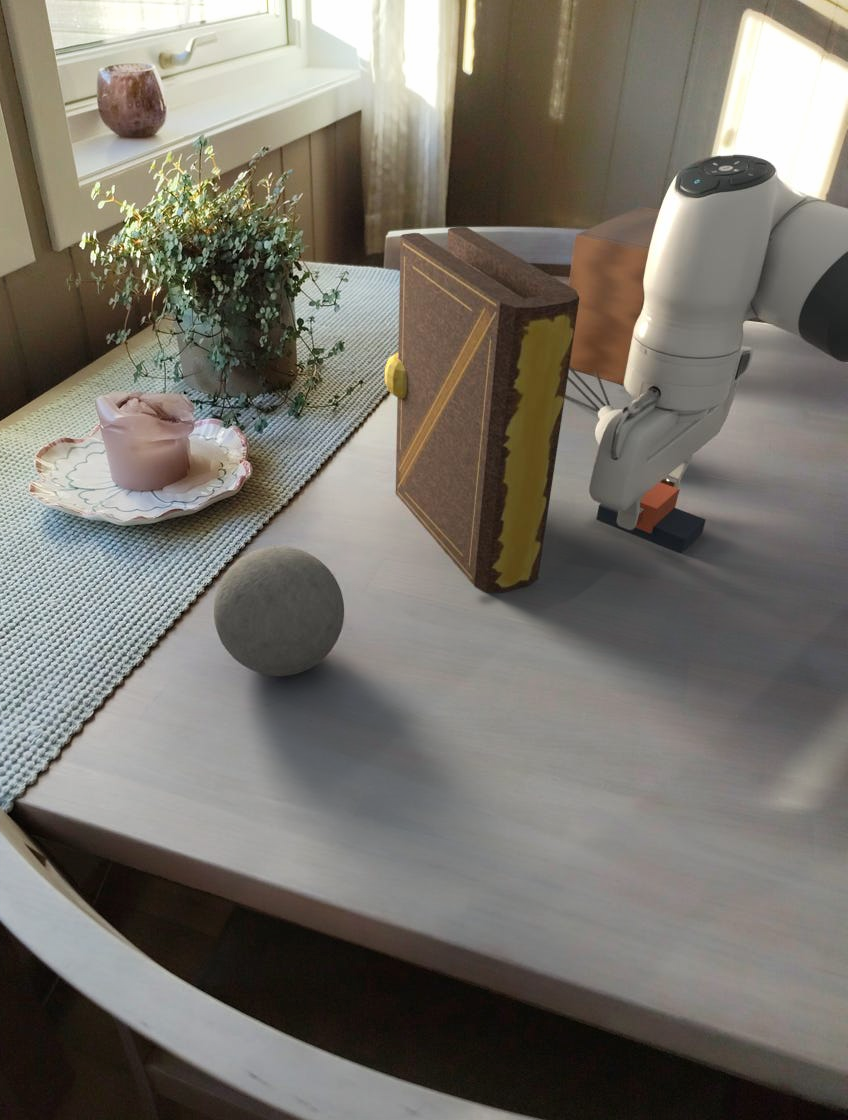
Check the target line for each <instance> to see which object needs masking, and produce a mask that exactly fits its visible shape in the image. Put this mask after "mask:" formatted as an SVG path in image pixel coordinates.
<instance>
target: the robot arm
mask: <svg viewBox="0 0 848 1120" xmlns="http://www.w3.org/2000/svg"><path fill="white" fill-rule="evenodd" d="M659 210H660V211H659V214H658V218H657V221H656V224H655V228H654V232H653V236H652V240H651V244H650V248H649V253H648V258H647V263H646V268H645V273H644V279H643V286H644V304H643V308H642V312H641V314H640V316H639V318H638V320H637V322H636V324H635V327H634V331H633V337H632V341H631V347H630V352H629V357H628V363H627V368H626V373H625V378H624V385H623V386H624V388H625V389H624V390H626V392H627V394H629V395H630V396H631V397H633V398H634V400H631V401H629V402H628V403H627V404H626V405H625V406H624V407H623V408H622V409H623V411H621V412H620V413H618V414H617V415H616V416H614V417H613V418H612V419H611V420H610V422H609V423H608V425H607V427H606V429H605V431H604V433H603V436H602V439H601V442H600V445H599V444H598V449H597V451H596V452H597V453H596V456H595V460H594V465H593V468H592V472H591V477H590V482H589V487H588V492H589V495H590V497H591V499H592V501H594V502H596V503H598V504H603V505H606V506H608V507H611V508H614V509H617V510H619V512H618V517H617V524H618V525H619V526H620V527H623V528H625V529H628V530H633V529H634V528H635V527H636V526H637V525H638V524H639V523H640V522H641V520H642V518H641V517H642V515H643V511H644V509H643V508H640V500H642V499H643V497H644V495H645V494H646V493H647V492H648V491H650V490H651V489H652V488H653V487H654V486H656V485H657V484H658V483H659V482H661V483H664V484H666V485H669V486H672V487H675V488H677V489H679V490H680V484H681V481H682V478H683V476H684V474H685V472H686V470H687V468H688V466H689V464H690V463H691V461H692V459H693V456H694V454H695V453H697V452H698V451H699V450H700V449H702V448H703V447H704V446H705V445H706V444H707V443H709V442H710V441H711V440H713V439H714V438H715V437H716V436H717V435H718V434H719V432H720V431H721V429H722V428H723V426H724V424H725V422H726V420H727V418H728V416H729V414H730V413H729V412H730V410H731V407H732V405H733V403H734V402H733V401H734V398H735V395H736V393H737V390H738V388H739V384H740V380H741V376H742V375H743V374H744V373H745V372H746V371H747V370H748V369H749V367H750V365H751V362H752V358H753V355H754V354H753V353H754V348H753V347H751V346H748V345H745V344H743V341H744V323H745V322H747V321H748V320H751V319H756V318H758V319H759V320H761V321H763V322H765V323H767V324H769V325H772V326H773V327H776V328H778V329H780V330H783V331H786V332H788V333H790V334H792V335H794V336H797V337H799V338H801V339H803V341H805V342H806V343H807V344H810V345H811V346H813V347H815V348H816V349H818V350H819V351H821V352H823V353H825V354H827V355H828V356H830V357H832V358H833V359H835V360H836V361H839V362H842V363H848V208H847V207H843V206H840V205H837V204H834V203H831V202H829V201H827V200H824V199H821V198H818V197H814V196H811V195H807V194H805V193H804V192H801V191H799V190H796V189H794V188H793V187H792V186H789V185H787V184H786V183H785V182H783V181H782V180H781V179H780V178H779V177H778V170H777V168H776V167H775V165H774V164H772V163H771V162H770V161H769V160H766V159H764V158H761V157H758V156H753V155H748V154H731V155H715V156H710V157H706V158H702V159H698V160H696V161H695V162H693V163H691V164H689V165H687V166H686V167H684V168H682V169H681V170H680V171H679V172H678V173H677V174H676V175H675V177H674V178H673V180H672V182H671V184H670V185H669V187H668V189H667V191H666V193H665V195H664V198H663V200H662V204H661V206H660V209H659Z"/></svg>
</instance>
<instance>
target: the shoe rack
mask: <svg viewBox="0 0 848 1120" xmlns="http://www.w3.org/2000/svg"><path fill="white" fill-rule="evenodd" d="M659 211H660V209H657V208H651V207H647V206H641V205H640V206H638V207H635V208H634V209H631V210H629V211H626V212H624V213H622V214H620V215H617V216H615V217H612V218H611V219H608V220H606V221H604V222H602V223H599V224H597V225H595V226H592V227H590V228H588V229H586V230H583V231H581V232H579V233H576V234H575V235H574V236H575V237H574V243H573V249H572V250H573V251H572V258H571V265H570V273H569V280H568V286H569V287H571V288H573V289H574V290H576V291H577V293H578V295H579V297H580V298H579V305H578V312H577V318H576V325H575V332H574V339H573V345H572V352H571V359H570V367H571V368H572V369H573V370H574V371H575V372H576V371H577V372H580V373H584V374H586V375H589V376H593V377H595V378H597V376H596V374H595V370H597V373H598V375H599V378H600V379H603V380H605V381H608V382H612V383H615V384H618V385H622V386H624V378H625V373H626V368H627V363H628V357H629V352H630V347H631V341H632V337H633V331H634V327H635V324H636V322H637V320H638V318H639V316H640V314H641V312H642V308H643V304H644V286H643V279H644V273H645V268H646V263H647V258H648V253H649V248H650V244H651V240H652V236H653V232H654V228H655V224H656V221H657V218H658V214H659Z"/></svg>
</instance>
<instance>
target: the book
mask: <svg viewBox="0 0 848 1120" xmlns="http://www.w3.org/2000/svg"><path fill="white" fill-rule="evenodd" d="M399 243H400V244H399V245H400V246H399V248H400V249H399V293H398V294H399V297H398V298H399V301H398V347H397V348H398V349H397V350H398V351H397V352H395V353H394V354H393V355H391V356H390V357H389V358H388V359H387V361H386V364H385V368H384V383H385V387H386V389H387V391H388V392H389V393H390V394H391V395H393V396H394V397H396V398H397V399H396V401H397V402H396V403H397V404H396V448H395V449H396V451H395V452H396V454H395V456H396V459H395V495H396V496H397V497H398V499H400V500H401V502H402V504H404V505H405V506H406V508H407V509H408V510H409V511H410V513H412V514H413V516H414V517H415V518H416V519H417V520H418V522H419V523H420V524H421V525H422V526H423V528H424V529H425V530H426V532H428V533H429V535H430V536H431V537H432V538H433V539H434V541H435V542H436V543H437V544H438V545H439V547H440V548H441V549H442V550H443V551H444V553H446V555H447V556H448V557H449V558H450V559H451V561H452V562H453V563H454V565H456V567H457V568H458V569H459V570H460V571H461V572H462V573H463V574H464V576H465V577H466V578H467V579H468V580H469V582H470V583H471V584H472V585H473V587H475V588H478V590H479V589H480V590H481V591H483V592H485V593H505V592H509V591H512V590H516V589H521V588H524V587H528V586H530V585H531V584H532V583H534V582H535V581H537V580H538V579H539V575H540V568H541V560H542V553H543V547H544V541H545V534H546V527H547V521H548V514H549V507H550V501H551V494H552V488H553V487H552V486H553V482H554V481H553V480H554V473H555V466H556V460H557V459H556V458H557V452H558V446H559V439H560V432H561V427H562V426H561V425H562V420H563V419H562V418H563V412H564V407H565V406H564V405H565V400H566V399H565V398H566V397H565V395H566V392H567V385H568V377H569V371H570V369H569V366H570V359H571V352H572V345H573V339H574V332H575V325H576V318H577V312H578V305H579V298H580V297H579V295H578V293H577V291H576V290H574V289H573V288H571V287H569V284H566V283H564V282H563V281H561V280H559V279H557V278H555V277H554V276H551V275H550V274H548V273H547V272H545V271H544V270H542V269H541V268H538V267H537V266H535V265H533V264H531V263H530V262H528V261H526V260H524V259H523V258H521V257H520V256H517V255H516V254H514V253H513V252H510V251H509V250H508V249H505V248H504V247H502V246H501V245H499V244H497V243H496V242H493V241H491V240H490V239H488V238H487V237H484V235H481V234H480V233H478V232H476V231H474V230H472V229H471V228H469V227H467V226H457V227H450V228H448V229H447V244H446V249H445V248H443V247H441V246H440V245H439V244H437V243H435V242H434V241H433V240H431V239H429V238H428V237H426V236H424V234H421V233H419V232H409V233H403V234H401V235H400V242H399Z"/></svg>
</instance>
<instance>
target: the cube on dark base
mask: <svg viewBox="0 0 848 1120" xmlns="http://www.w3.org/2000/svg"><path fill="white" fill-rule="evenodd" d="M679 493H680V488H679V489H677V488H675V487H672V486H669V485H666V484H664V483H661V482H659V483H658V484H657V485H656V486H654V487H653V488H652V489H651V490H650V491H648V492H647V493H646V494H645V495H644V497H643V499H642V500H640V508H643V509H644V511H643V515H642V517H641V518H642V520H641V522H640V523H639V524H638V525H637V526H636V527H635V528H634V529H633V530H628V529H625V528H623V527H620V526H619V525H618V524H617V517H618V512H619V510H617V509H614V508H611V507H608V506H606V505H603V504H601V503H599V505H598V508H597V514H596V520H598V521H600V522H603V523H605V524H608V525H610V526H613V527H615V528H618V529H620V530H622V531H625V532H628V533H630V534H633V535H635V536H638V537H639V538H642V539H645V540H648V541H650V542H653V543H655V544H658V545H660V546H663V547H664V548H665V547H666V548H667V549H669V550H673V551H676V552H678V553H680V554H682V553H683V552H684V551H685V550H686V549H687V548H688V547H689V546H691V545H692V543H693V542H695V541H696V540H697V539H698V538H699V537H700V536H701V535H702V534H703V531H704V528H705V525H706V521H707V520H706V518H704V517H701V516H698V515H695V514H693V513H691V512H687V511H684V510H682V509H679V508H677V507H676V505H677V501H678V498H679Z"/></svg>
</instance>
